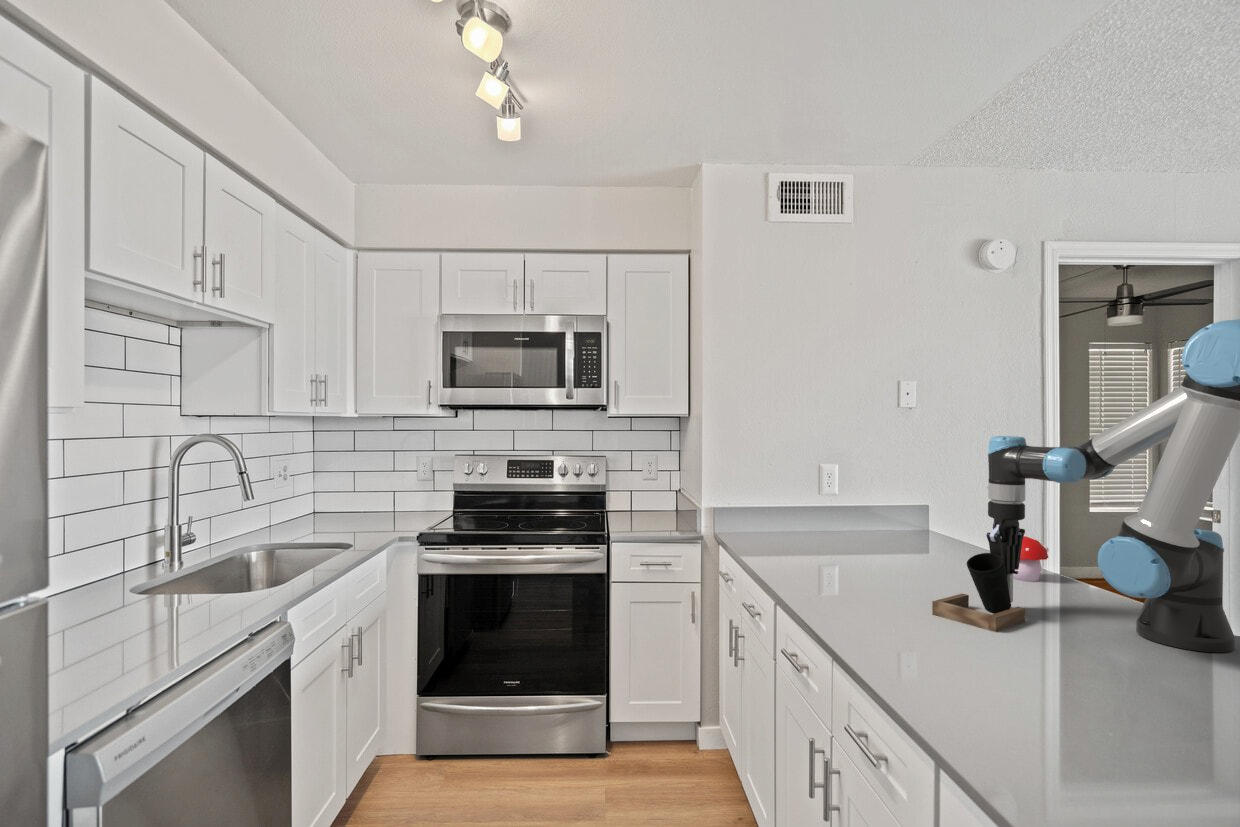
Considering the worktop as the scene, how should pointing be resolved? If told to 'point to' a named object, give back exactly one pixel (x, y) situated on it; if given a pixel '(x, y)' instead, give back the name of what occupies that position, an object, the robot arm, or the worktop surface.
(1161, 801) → the worktop surface
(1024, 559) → the mushroom
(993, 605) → the cup
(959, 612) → the wooden u-shaped bracket
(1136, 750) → the worktop surface
